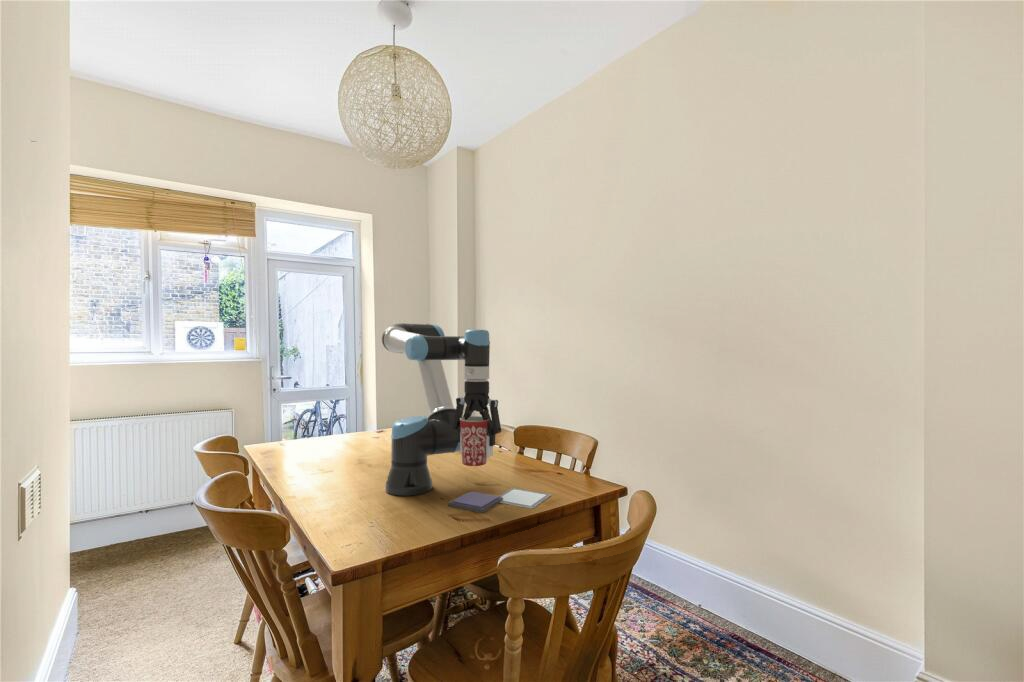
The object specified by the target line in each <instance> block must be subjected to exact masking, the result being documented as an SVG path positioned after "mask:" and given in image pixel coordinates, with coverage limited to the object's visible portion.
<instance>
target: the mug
mask: <svg viewBox="0 0 1024 682" xmlns="http://www.w3.org/2000/svg"><path fill="white" fill-rule="evenodd" d="M489 420H490V419H488V420H485V421H483V418H482V415H480V416H478V415H475V416H474V415H471V416H470V417H469V418H468V419H467V420H466V421H465V418H464V417H463V416H462V418H460V424H461V446H462V454H461V462H462V465H464V466H468V467H481V466H484V465H486V464H487V458H486V436H487V435H488V431H487V424H488V422H489Z"/></svg>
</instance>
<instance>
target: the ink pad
mask: <svg viewBox="0 0 1024 682" xmlns="http://www.w3.org/2000/svg"><path fill="white" fill-rule="evenodd" d="M501 500H503V497H499V495H492V494H487V493H482V492H477V491H468V492H466V493H465V494H462V495H461V496H459V497H457V498H455V499H453V500H450V501H449V502H448V503H447V506H448V507H452V508H456V509H460V510H461V509H462V510H464V511H465V510H467V511H471V512H475V513H481V514H483V513H485V512H487V511H488V510H490V509H491V508H494V507H495V506H497V505H498V504H500V501H501Z"/></svg>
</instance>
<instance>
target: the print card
mask: <svg viewBox="0 0 1024 682" xmlns="http://www.w3.org/2000/svg"><path fill="white" fill-rule="evenodd" d="M498 496H499V497H503V500H501V501H500V503H501V504H504V505H510V506H516V507H519V508H520V507H522V508H526V509H532V510H533V509H534V508H535V507H537V506H539V505H540V504H542V503H543V502H544V501H546V500H547V499H548V498H550V497H551V496H552V494H550V493H547V492H546V493H545V492H540V491H533V490H528V489H524V488H523V489H522V488H516V487H511V488H509V489H508V490H507V491H505V492H503V493H501V494H500V495H498ZM500 503H499V504H500Z"/></svg>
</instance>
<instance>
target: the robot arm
mask: <svg viewBox="0 0 1024 682" xmlns="http://www.w3.org/2000/svg"><path fill="white" fill-rule="evenodd" d="M381 343H382V346H383V347H384V348H385V349H386V350H387V351H389V352H391V353H393V354H405V355H406V358H407V359H408V360H410V361H415V362H417V363H418V368H419V371H420V372H419V373H420V376H421V380H422V384H423V388H424V392H425V396H426V397H425V398H426V403H427V405H428V406H427V407H428V410H429V415H428V417H427V416H423V415H421V416H419V415H418V416H408V417H404V418H401V419H397V420H396V421H395V422H393V424H392V425H391V435H390V439H391V457H390V458H391V460H390V463H391V464H390V466H391V467H390V469H389V473H388V475H387V480H386V482H385V492H386V493H388V494H390V495H394V496H400V497H401V496H403V497H405V496H407V497H409V496H416V495H422V494H425V493H428V492H429V491H431V490H432V489H433V478H431V474H430V473H431V472H430V470H429V467H428V456H432V455H433V456H435V455H441V454H449V453H452V454H454V453H456V452H460V453H459V454H460V455H462V446H461V424H460V418H462V417H464V418H465V421H466V420H467V419H468V418H469V417H470V416H473V415H472V414H473V413H474V411H475V412H479V414H480V416H482V418H483V421H485V420H488V419H490V420H489V422H488V424H487V431H488V435H487V436H486V458H488V459H489V458H491V457H494V446H496V435H497V434H501V432H502V426H501V421H500V414H499V409H498V405H499V400H498V399H492V398H490V395H489V394H490V382H489V379H490V350H491V349H490V348H491V347H490V344H491V341H490V332H489V330H487V329H466V330H465V332H464V336H463V335H462V336H454V335H453V336H452V335H451V336H446V335H445V332H444V331H443V328H442V327H441V326H440V325H437V324H432V323H425V324H422V323H396V324H392V325H390V326H389V327H387V328H386V329H385V330H384V332H383V333H382V335H381ZM442 361H464V379H465V382H464V393H465V394H464V397H462V396H461V397H456V399H455V403H456V408H455V407H454V404H453V400H452V396H451V393H450V390H449V388H450V387H449V386H448V381H447V378H446V373H445V370H444V366H443V363H442ZM465 405H466V406H465ZM488 406H489V407H488ZM489 411H490V413H489Z"/></svg>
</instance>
